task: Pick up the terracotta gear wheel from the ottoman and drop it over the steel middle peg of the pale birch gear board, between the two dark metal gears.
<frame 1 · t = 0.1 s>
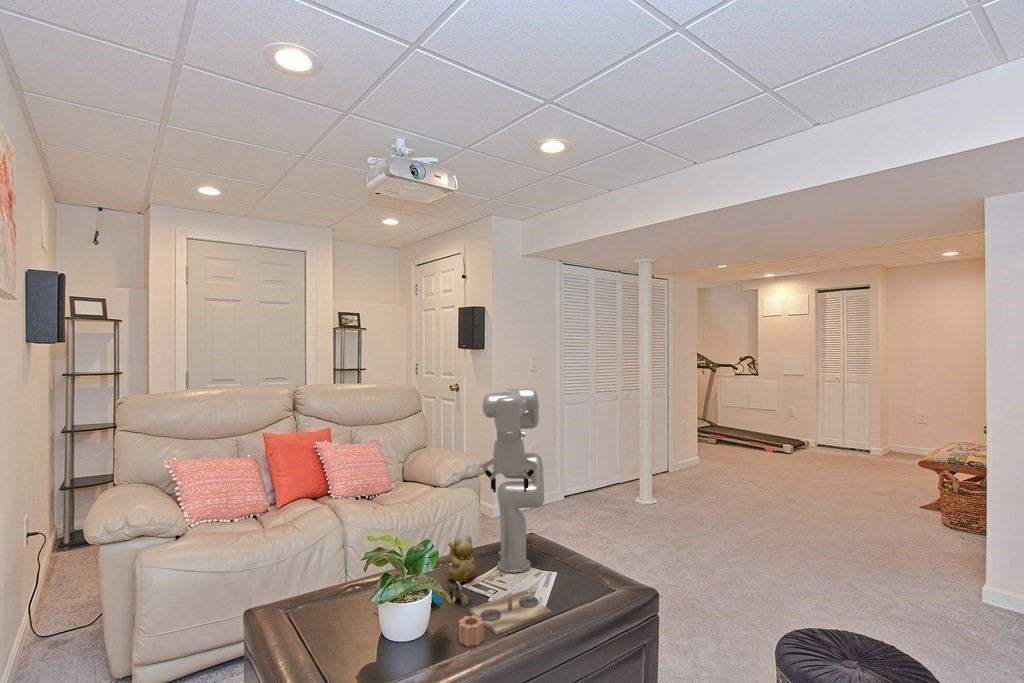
hand: (509, 491, 165), 37 cm above the table, tool pointing down, fingers open, 9 cm apart
gear wheel: (471, 639, 148), on the table
eagle figurine: (458, 602, 171), on the table
decorative figurine: (463, 580, 187), on the table
gear: (429, 604, 170), on the table
gear board: (510, 612, 163), on the table
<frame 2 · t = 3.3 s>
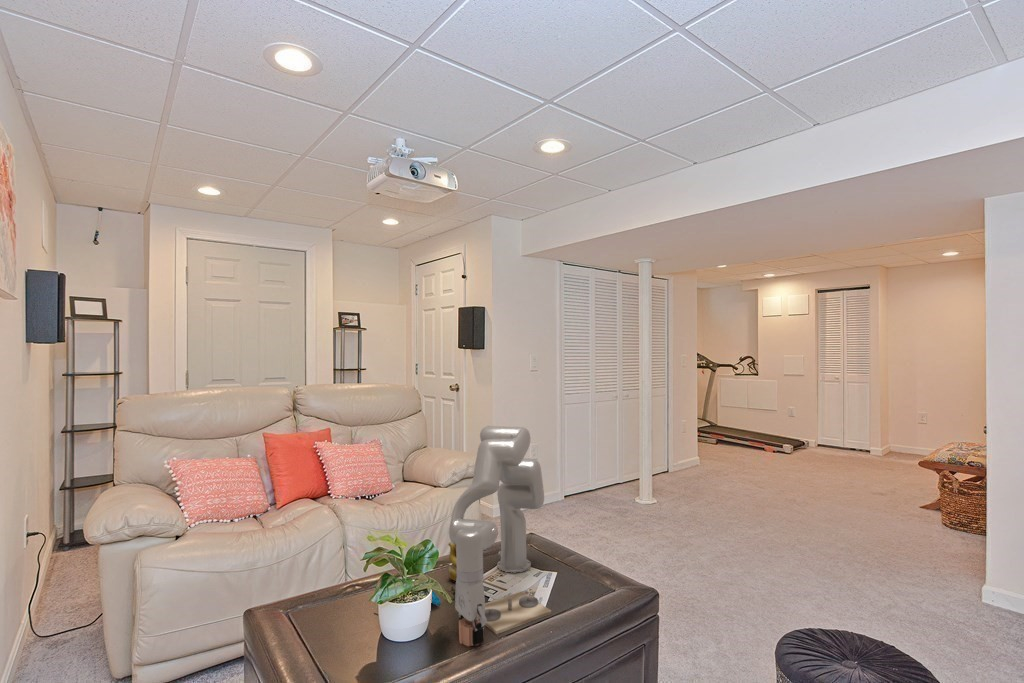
hand: (471, 636, 148), 1 cm above the table, tool pointing down, fingers closed on gear wheel, 7 cm apart
gear wheel: (471, 639, 148), on the table, touching gripper
eagle figurine: (461, 604, 170), on the table
everything else where it was.
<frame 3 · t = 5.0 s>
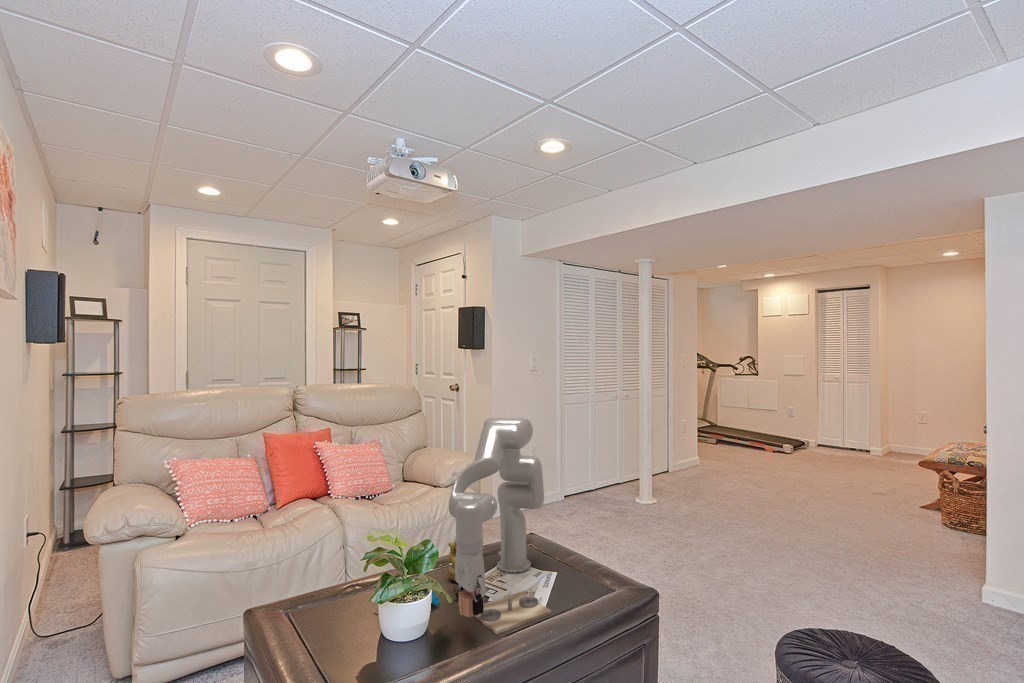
hand: (471, 607, 149), 9 cm above the table, tool pointing down, fingers closed on gear wheel, 7 cm apart
gear wheel: (471, 610, 149), point 8 cm above the table, touching gripper
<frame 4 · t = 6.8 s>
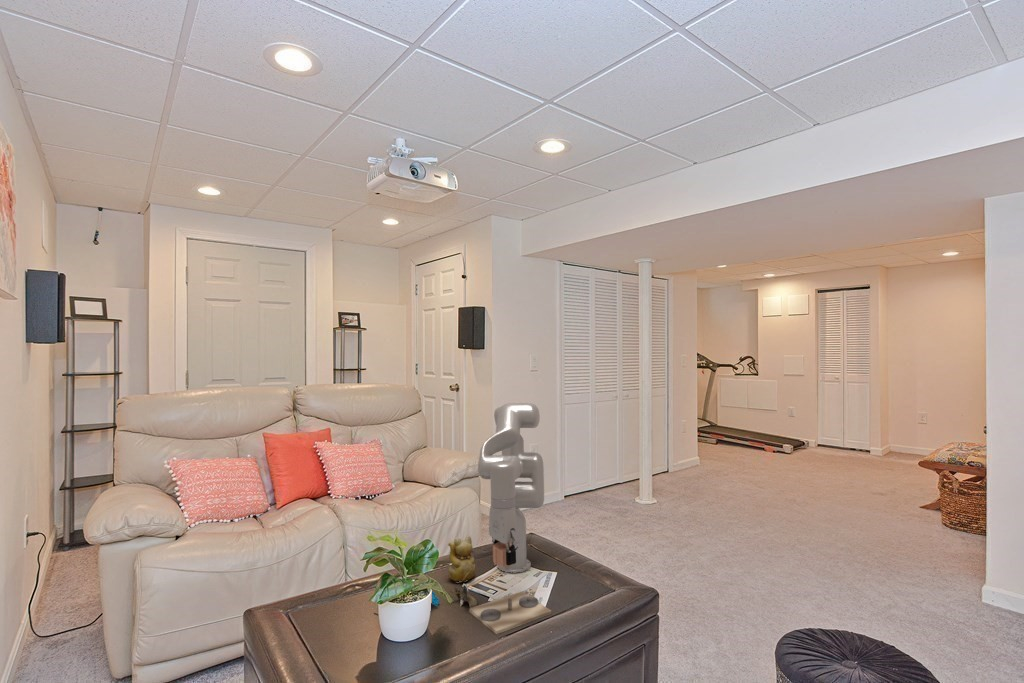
hand: (504, 559, 162), 17 cm above the table, tool pointing down, fingers closed on gear wheel, 7 cm apart
gear wheel: (504, 561, 162), point 16 cm above the table, touching gripper
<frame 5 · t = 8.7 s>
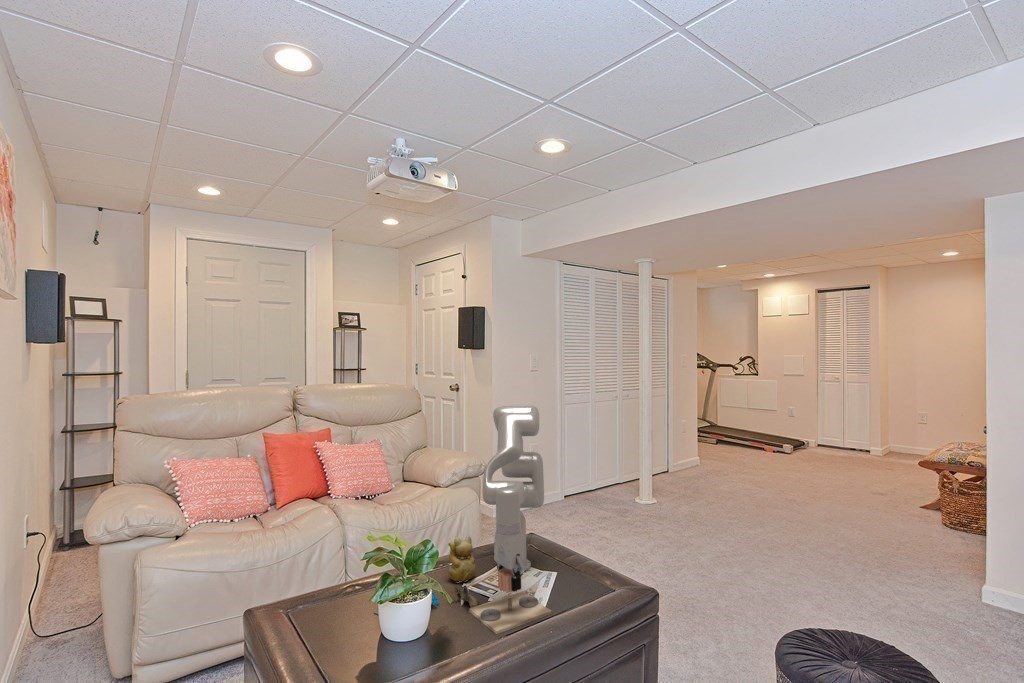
hand: (509, 585, 163), 9 cm above the table, tool pointing down, fingers closed on gear wheel, 7 cm apart
gear wheel: (509, 587, 163), point 8 cm above the table, touching gripper
when the fingers open (6 cm above the table, at t = 10.2 s): gear wheel drops 4 cm, resting on gear board.
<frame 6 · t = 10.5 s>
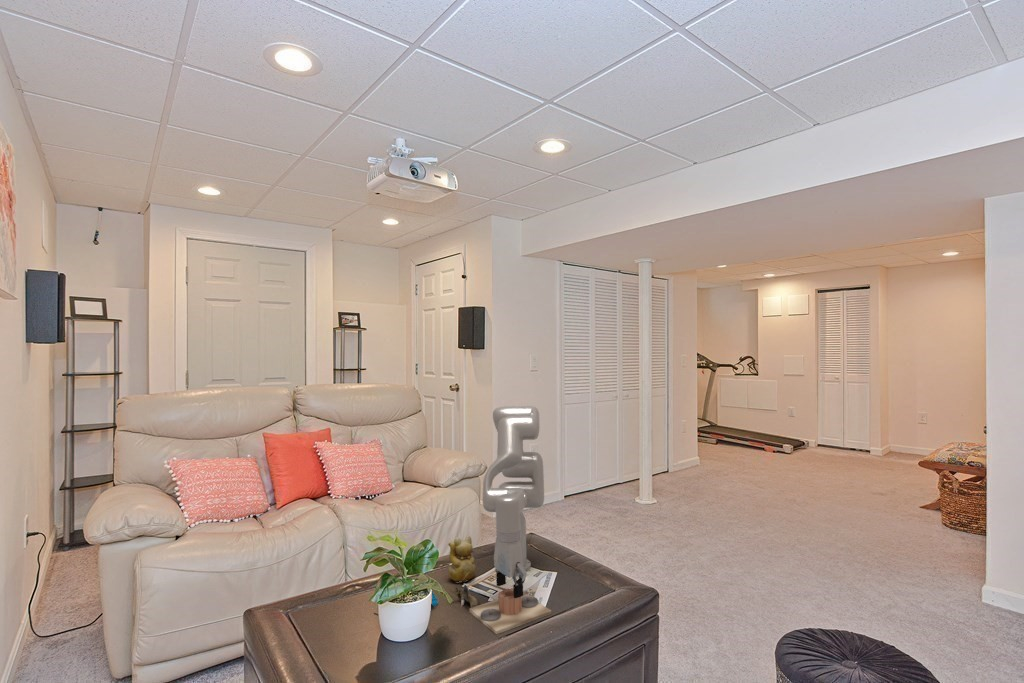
hand: (509, 590, 163), 7 cm above the table, tool pointing down, fingers open, 9 cm apart
gear wheel: (510, 609, 163), point 1 cm above the table, touching gear board
eagle figurine: (466, 605, 169), on the table, touching gear board
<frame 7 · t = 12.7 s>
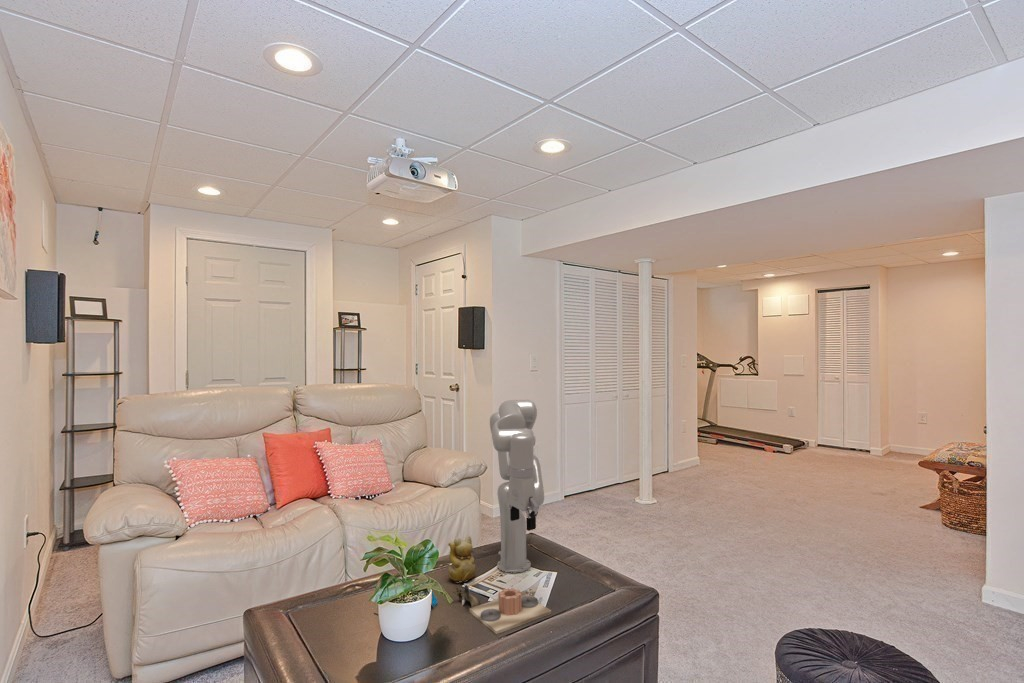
hand: (522, 524, 170), 25 cm above the table, tool pointing down, fingers open, 9 cm apart
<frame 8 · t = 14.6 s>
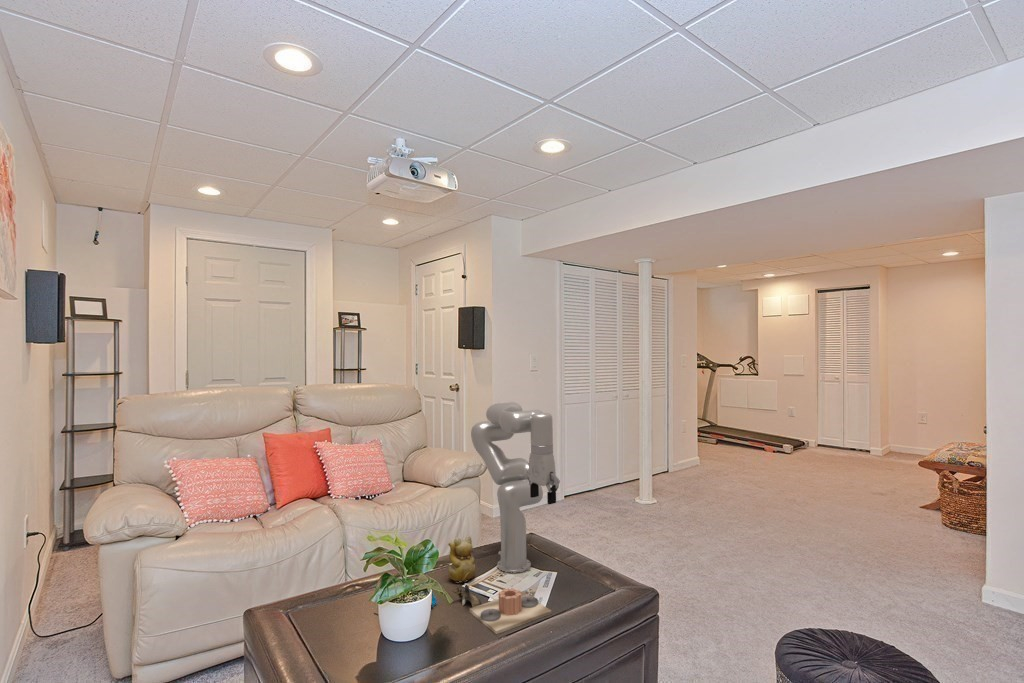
hand: (543, 500, 178), 30 cm above the table, tool pointing down, fingers open, 9 cm apart
eagle figurine: (467, 604, 169), on the table
at the end: gear wheel 0.1 cm off-centre on the gear board, point 1.0 cm above the gear board's base; gear wheel tilted 0°; the gripper is holding nothing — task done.
